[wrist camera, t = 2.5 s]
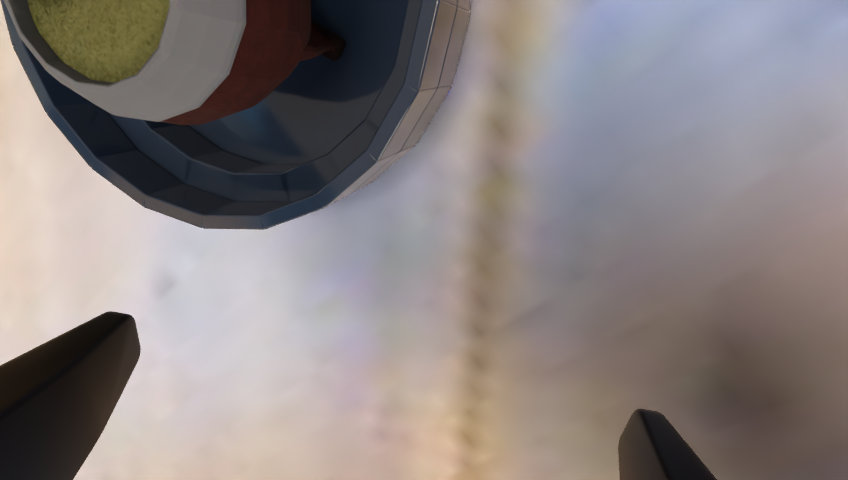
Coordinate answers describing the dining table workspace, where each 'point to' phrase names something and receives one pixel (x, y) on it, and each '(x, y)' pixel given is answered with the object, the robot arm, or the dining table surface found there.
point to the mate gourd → (172, 52)
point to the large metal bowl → (280, 121)
